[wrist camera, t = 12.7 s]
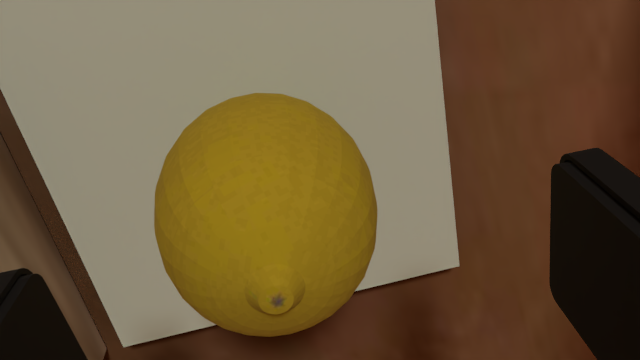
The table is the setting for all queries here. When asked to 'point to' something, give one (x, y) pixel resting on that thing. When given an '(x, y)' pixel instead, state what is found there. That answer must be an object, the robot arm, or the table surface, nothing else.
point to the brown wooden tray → (40, 253)
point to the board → (207, 91)
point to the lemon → (265, 215)
